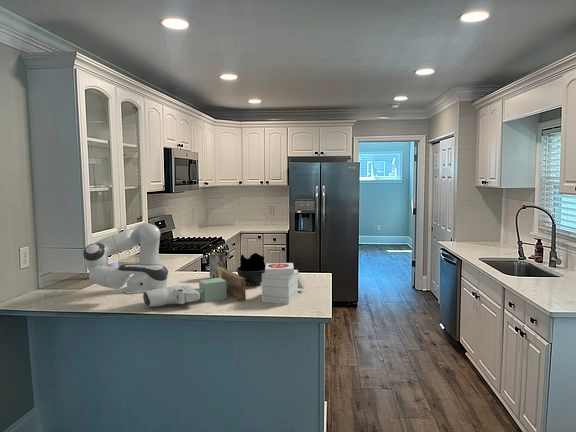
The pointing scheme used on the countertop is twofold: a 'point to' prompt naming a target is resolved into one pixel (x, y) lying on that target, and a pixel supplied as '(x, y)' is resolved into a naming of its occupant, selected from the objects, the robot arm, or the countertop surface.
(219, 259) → the coffee box
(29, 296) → the countertop surface
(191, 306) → the countertop surface
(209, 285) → the sage block
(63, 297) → the countertop surface
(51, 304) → the countertop surface
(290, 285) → the pizza box stack
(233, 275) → the walnut backstop board
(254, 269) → the coal bowl
